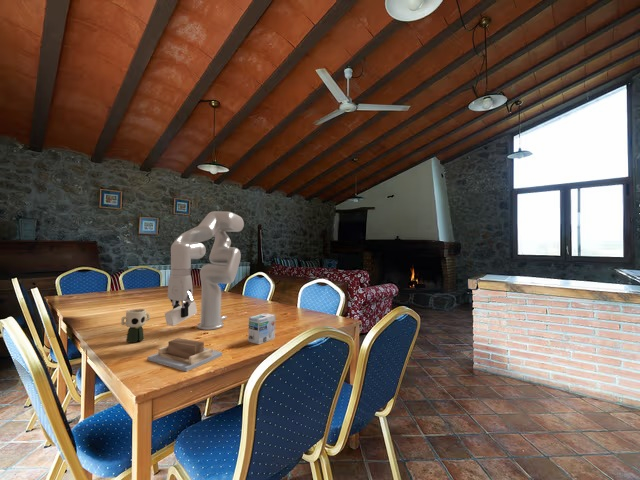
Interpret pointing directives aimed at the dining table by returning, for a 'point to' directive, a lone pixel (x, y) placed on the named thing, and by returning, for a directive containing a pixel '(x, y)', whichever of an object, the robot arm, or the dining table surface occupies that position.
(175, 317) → the plank
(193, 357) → the cradle
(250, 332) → the light bulb box
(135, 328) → the character mug
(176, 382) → the dining table surface
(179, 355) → the brown rectangular block
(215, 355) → the jig board
